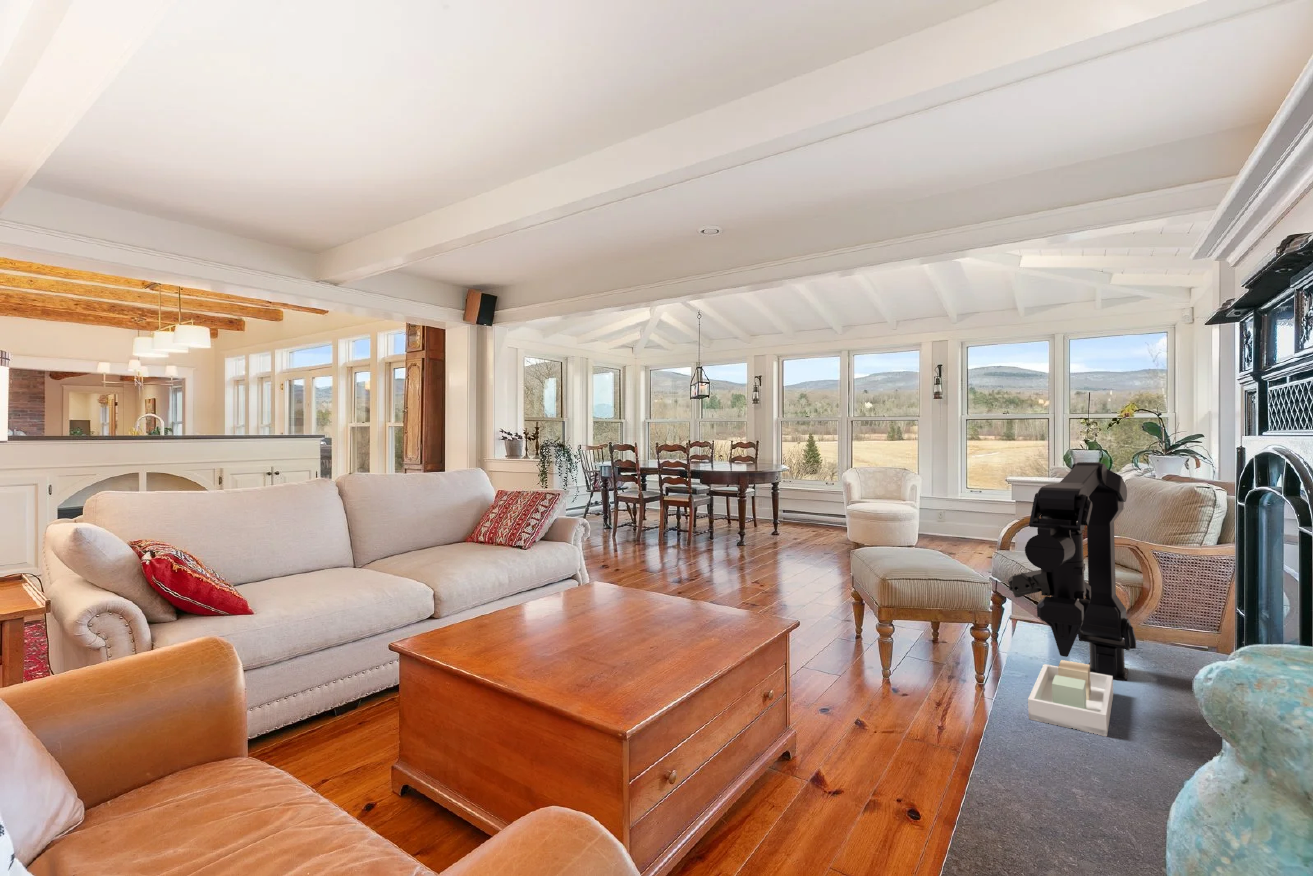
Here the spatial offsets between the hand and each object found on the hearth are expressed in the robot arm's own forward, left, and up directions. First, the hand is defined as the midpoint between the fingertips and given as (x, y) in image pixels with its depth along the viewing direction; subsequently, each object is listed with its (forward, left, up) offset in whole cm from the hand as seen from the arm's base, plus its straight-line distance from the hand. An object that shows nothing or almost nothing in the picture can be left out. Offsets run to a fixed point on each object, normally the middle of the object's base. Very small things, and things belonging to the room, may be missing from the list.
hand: (1067, 648), depth 107 cm
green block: (0, 0, -11) cm, 11 cm away
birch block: (-9, 0, -11) cm, 14 cm away
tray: (-5, 0, -12) cm, 13 cm away
